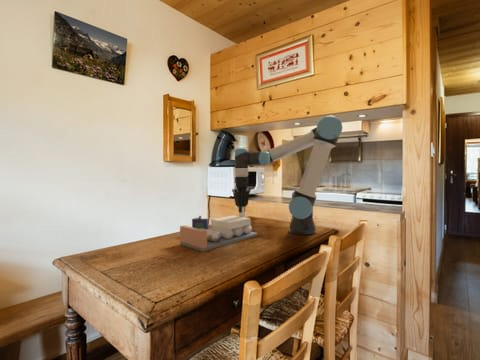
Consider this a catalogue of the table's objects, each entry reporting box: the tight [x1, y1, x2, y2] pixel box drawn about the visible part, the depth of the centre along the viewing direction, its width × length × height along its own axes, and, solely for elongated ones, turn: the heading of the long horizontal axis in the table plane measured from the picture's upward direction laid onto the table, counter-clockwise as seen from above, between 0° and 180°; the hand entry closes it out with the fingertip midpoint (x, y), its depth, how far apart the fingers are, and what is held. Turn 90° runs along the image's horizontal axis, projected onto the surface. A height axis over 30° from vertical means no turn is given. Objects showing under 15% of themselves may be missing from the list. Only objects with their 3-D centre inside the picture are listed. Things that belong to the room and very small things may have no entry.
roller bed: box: [179, 225, 259, 252], centre depth 140 cm, size 18×38×9 cm, turn 135°
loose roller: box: [200, 228, 221, 243], centre depth 134 cm, size 13×5×5 cm, turn 46°
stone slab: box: [210, 214, 252, 230], centre depth 145 cm, size 14×16×4 cm
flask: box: [191, 215, 209, 230], centre depth 153 cm, size 9×3×11 cm, turn 88°
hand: (241, 218), depth 152 cm, fingers closed
